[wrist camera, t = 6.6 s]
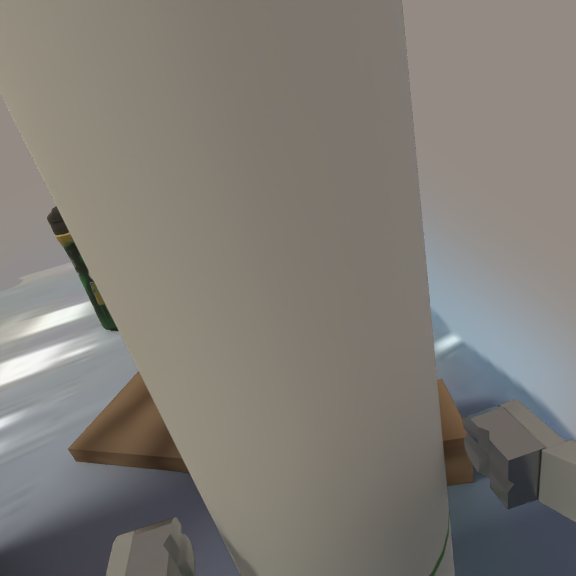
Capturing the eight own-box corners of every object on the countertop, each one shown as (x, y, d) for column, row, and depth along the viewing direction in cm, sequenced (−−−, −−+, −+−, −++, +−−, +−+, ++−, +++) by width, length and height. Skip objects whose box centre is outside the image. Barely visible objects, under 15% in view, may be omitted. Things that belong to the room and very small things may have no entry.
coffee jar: (115, 308, 63) (60, 197, 55) (162, 295, 63) (115, 182, 55) (97, 339, 54) (30, 211, 46) (153, 323, 54) (95, 193, 47)
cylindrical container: (428, 557, 20) (349, -18, 10) (499, 767, 14) (488, -257, 3) (296, 579, 21) (89, 56, 10) (304, 791, 14) (-219, -27, 4)
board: (76, 461, 33) (67, 448, 32) (189, 330, 50) (185, 320, 49) (296, 482, 26) (291, 467, 26) (341, 321, 43) (339, 310, 42)
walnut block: (390, 495, 24) (382, 449, 22) (376, 432, 29) (368, 391, 27) (473, 483, 23) (471, 436, 22) (445, 422, 28) (441, 379, 26)
